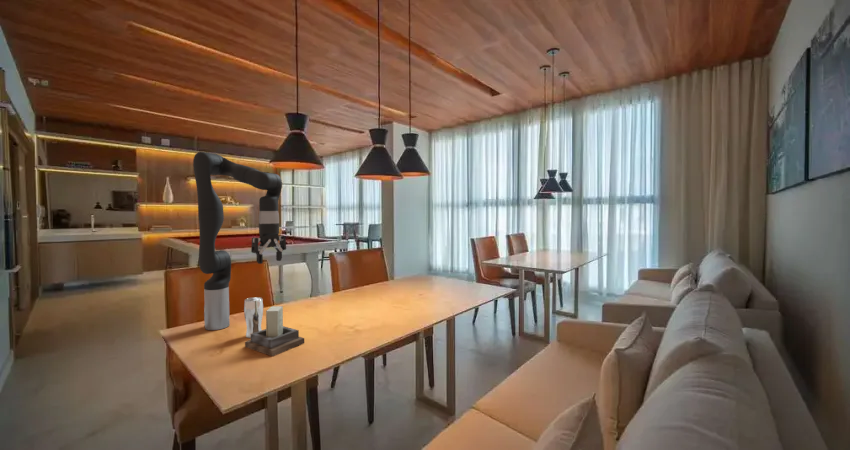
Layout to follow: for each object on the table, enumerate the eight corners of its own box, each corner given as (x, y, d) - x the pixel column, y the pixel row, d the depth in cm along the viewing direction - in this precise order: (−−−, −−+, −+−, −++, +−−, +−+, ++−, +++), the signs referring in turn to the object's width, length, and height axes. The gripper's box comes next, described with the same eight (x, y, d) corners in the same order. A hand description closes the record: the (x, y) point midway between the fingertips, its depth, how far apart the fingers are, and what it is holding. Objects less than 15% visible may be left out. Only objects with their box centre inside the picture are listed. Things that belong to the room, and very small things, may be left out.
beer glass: (255, 339, 139) (255, 301, 138) (240, 337, 140) (239, 300, 139) (267, 333, 145) (266, 297, 145) (252, 331, 147) (251, 296, 146)
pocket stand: (245, 346, 131) (244, 333, 131) (277, 335, 143) (277, 323, 143) (272, 356, 123) (272, 342, 123) (304, 343, 135) (304, 330, 135)
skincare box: (271, 336, 136) (271, 306, 135) (283, 336, 136) (283, 305, 136) (265, 343, 129) (265, 310, 129) (278, 342, 130) (277, 310, 129)
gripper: (278, 221, 149) (278, 259, 150) (246, 222, 137) (247, 263, 138) (290, 222, 146) (290, 260, 146) (258, 223, 133) (259, 265, 134)
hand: (269, 262), depth 142 cm, fingers open, 8 cm apart
